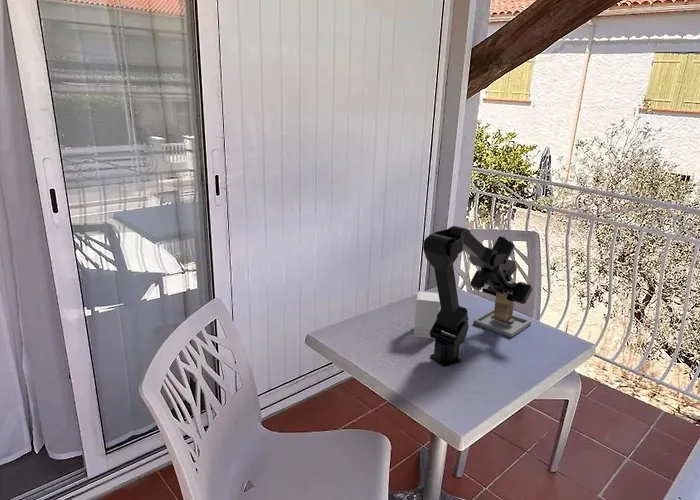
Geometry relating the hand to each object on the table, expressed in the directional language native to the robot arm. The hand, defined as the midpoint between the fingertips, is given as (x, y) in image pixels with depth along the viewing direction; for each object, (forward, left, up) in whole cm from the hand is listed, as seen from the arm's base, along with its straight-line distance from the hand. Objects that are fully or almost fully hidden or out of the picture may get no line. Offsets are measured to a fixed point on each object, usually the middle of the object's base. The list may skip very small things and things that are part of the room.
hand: (506, 298), depth 160 cm
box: (-1, 0, -9) cm, 9 cm away
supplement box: (-28, +6, -9) cm, 30 cm away
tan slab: (-1, 0, -8) cm, 8 cm away
